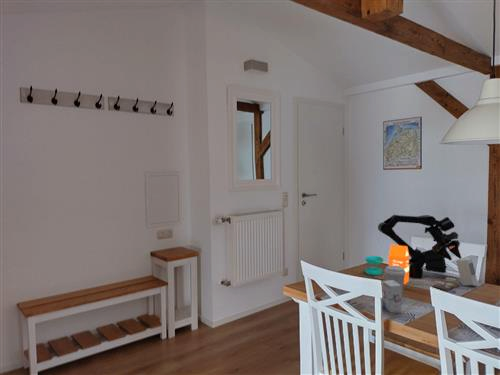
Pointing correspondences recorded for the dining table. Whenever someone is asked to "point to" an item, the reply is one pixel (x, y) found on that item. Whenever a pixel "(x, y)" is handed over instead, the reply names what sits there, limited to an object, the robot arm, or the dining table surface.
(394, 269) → the grey canister
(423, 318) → the dining table surface
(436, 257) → the black slab
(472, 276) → the module
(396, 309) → the ink box
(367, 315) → the dining table surface
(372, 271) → the donuts
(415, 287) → the dining table surface
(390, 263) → the orange juice
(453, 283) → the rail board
